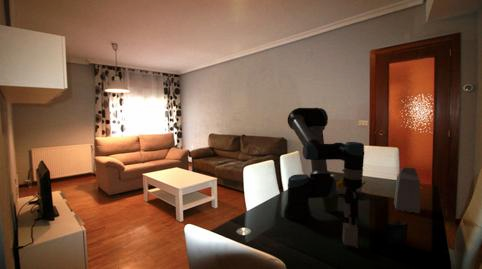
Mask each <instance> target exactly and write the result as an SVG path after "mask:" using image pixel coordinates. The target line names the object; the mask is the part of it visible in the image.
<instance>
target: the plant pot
mask: <svg viewBox="0 0 482 269" xmlns="http://www.w3.org/2000/svg"><path fill="white" fill-rule="evenodd" d="M340 195H341V194H340V192H339V191H336V192H335V194H334V195H333V196H332V197H328V198H321V200H322V203H323V209H324V211H326V212H328V213H333V212H338V210H339V209H338V207H339V197H340Z"/></svg>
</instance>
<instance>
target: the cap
mask: <svg viewBox="0 0 482 269" xmlns="http://www.w3.org/2000/svg"><path fill="white" fill-rule="evenodd" d="M358 233H359V228H358V226H357V225H356V232H351V231H349V222H342V239H343V241H342V243H343V242H344V244H345V245H352V246H357V244H358V240H359V239H358V238H359V236H358V235H359V234H358ZM342 239H341V240H342Z"/></svg>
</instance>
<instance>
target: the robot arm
mask: <svg viewBox="0 0 482 269" xmlns="http://www.w3.org/2000/svg"><path fill="white" fill-rule="evenodd" d="M328 121H329V117H328V114H327V111H326V110H325V109H324V108H323V107H321V108H319V107H298V108H295V109H293V110H291V112H290V113H289V114H288V115H287V124H288V126H289V128H290V129H291V130H293V132H294V133H295V135H296V136H297V138H298V140H299V142H301V144H302V146H303V147H302V156H303V158H304V160H306V161H307V160H308V161H311V162H310V164H311V165H310V166H311V172H310V173H309V175H308V174H304V173H303V174H302V173H300V174H299V173H297V174H292V175H291V176H289V178H288V179H287V180H288V181H287V202H286V205H285V208H284V210H283V216H284V217H285V218H286V219H288V220H290V221H295V222H308V221H309V220H311V219H312V212H311V208H310V205H309V199H322V198H328V197H332V196H333V195H334V194H335V192H336V181H335V180H336V178H335V177H334V176H332V174H331V172H330V171H328V163H327V161H328V160H329V161H331V160H338V161H339V160H340V161H343V169H342V170H341V171H342V172H343V176H342V177H343V185H344V186H345V187H346V193H345V195H344V198H343V199H344V214H343V216H344V218H349V220H348V221H349V222H348V223H349V231H351V232H356V226H357V223H358V222H357V221H358V219H359V200H358V198H359V192H358V193H357V192H356V189H359V188H361V187H362V188H363V186H362V183H363V176H364V175H363V174H364V159H365V145H364V144H363V143H362V142H358V141H347V142H346V143H343V142H333V143H325V140H324V131H325V130H326V126H328ZM344 176H345V177H344Z"/></svg>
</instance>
